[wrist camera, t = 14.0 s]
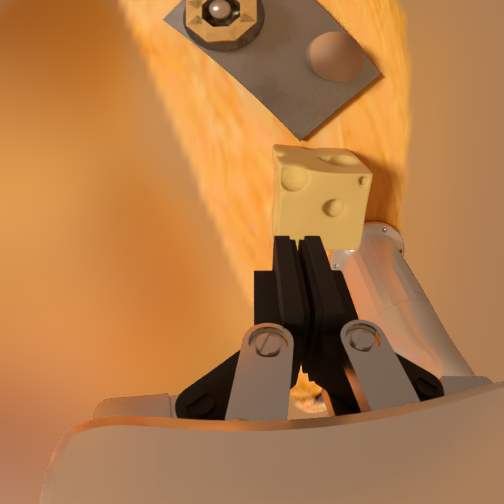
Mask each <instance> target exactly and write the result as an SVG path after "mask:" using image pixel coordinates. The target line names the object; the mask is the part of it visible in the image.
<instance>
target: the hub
mask: <svg viewBox="0 0 504 504" xmlns="http://www.w3.org/2000/svg"><path fill="white" fill-rule="evenodd" d="M239 17H240V8H239V7H238V6H237V5H235V4H234V3H233V2H232V1H225V0H215V1H214V2H212V3H211V4H210V6H209V9H208V10H207V23H208V24H210V25H211V26H212V27H223V26H230V25H231V24H232V23H233V22H234V21H235V20H237V19H238V18H239ZM264 20H265V10H264V6H263V4H262V1H261V0H257V23H256V27H255V28H254V29H252V30H251V31H250V32H249V33H248V34H247V35H246V36H244V37H243V38H242V39H241V40H240V41H239V42H238V43H222V44H210V43H208V42H206V41H205V40H204V39H203V38H201V37H200V36H199V35H198V34H196V33H195V32H194V31H192V30H191V29H190V28H189V27H187V26H186V7H185V9H184V13H183V24H184V28H185V30H186V32H187V34H188V36H189V37H190V38H191V39H192V40H193V41H194V42H195V43H196V44H198V45H199V46H201V47H203V48H206V49H208V50H212V51H217V52H229V51H234V50H238V49H240V48H243V47H245V46H246V45H248V44H250V43H251V42H252V41H253V40H254V39H255V38H256V37H257V36H258V35H259V33H260V31H261V29H262V27H263V24H264Z"/></svg>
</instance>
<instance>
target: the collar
mask: <svg viewBox="0 0 504 504" xmlns="http://www.w3.org/2000/svg"><path fill="white" fill-rule="evenodd" d="M214 1H215V0H187V1H186V26H187V27H189V28H190V29H191V30H192V31H194V32H195V33H196V34H198V35H199V36H200V37H201V38H203V39H204V40H205V41H206V42H208V43H210V44H222V43H238V42H239V41H240V40H241V39H242V38H243V37H244V36H246V35H247V34H248V33H249V32H250V31H251V30H252V29H254V28H255V27H256V23H257V0H225V1H232V2H233V3H234V4H235V5H237V6H238V7H239V8H240V17H239V18H238V19H237V20H235V21H234V22H233V23H232V24H231V25H230V26H223V27H212V26H211V25H210V24H208V23H207V10H208V9H209V6H210V4H211V3H212V2H214Z"/></svg>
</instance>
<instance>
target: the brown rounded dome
mask: <svg viewBox="0 0 504 504" xmlns="http://www.w3.org/2000/svg"><path fill="white" fill-rule="evenodd" d="M306 57H307V62H308V64H309V66H310V68H311V69H312V71H313V72H314V73H315V74H317V75H318V76H320V77H322V78H324V79H327V80H332V81H340V82H341V81H347V80H350V79H352V78H354V77H355V76H357V75H358V73H359V72H360V71H361V69H362V67H363V63H364V56H363V51H362V49H361V47H360V45H359V44H358V42H357V41H356V40H355V39H354V38H352V37H351V36H349V35H347V34H345V33H342V32H328V33H325V34H322V35H320V36H318V37H316V38H315V39H313V40H312V41H311V43H310V44H309V46H308V48H307V53H306Z"/></svg>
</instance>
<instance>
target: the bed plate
mask: <svg viewBox="0 0 504 504" xmlns="http://www.w3.org/2000/svg"><path fill="white" fill-rule="evenodd" d="M186 1H187V0H182V1H181V2H180V3H179V4H178V5H177V6H176V7H175V8H174V9H173V10H172V11H171V12H170V13H169V14H168V15H167V16H166V17H165V18H164V19H163V20H164V21H165V22H167V23H168V24H169V25H171V26H172V27H173V28H175V29H176V30H177V31H179V32H180V33H181V34H182V35H184V36H185V37H186V38H188V39H189V40H190V41H191V42H193V43H194V44H195V45H196V46H198V47H199V48H200V49H201V50H203V51H204V52H205V53H206V54H207V55H209V56H210V57H211V58H212V59H213V60H215V61H216V62H217V63H218V64H219V65H220V66H222V67H223V68H224V69H225V70H226V71H227V72H229V73H230V74H231V75H232V76H233V77H234V78H235V79H236V80H238V81H239V82H240V83H241V84H242V85H243V86H244V87H245V88H246V89H247V90H249V91H250V92H251V93H252V94H253V95H254V96H255V97H256V98H257V99H258V100H259V101H260V102H261V103H262V104H263V105H264V106H265V107H266V108H268V109H269V110H270V111H271V112H272V113H273V114H274V115H275V116H276V117H277V118H278V119H279V120H280V121H281V122H282V123H283V124H284V125H285V126H286V127H287V128H288V129H289V130H290V131H291V132H292V133H293V135H294V136H295V137H296V138H297V139H298V140H299V141H301V140H302V139H303V138H304V137H306V136H307V135H308V134H309V133H310V132H311V131H313V130H314V129H315V128H316V127H317V126H318V125H320V124H321V123H322V122H323V121H324V120H325V119H327V118H328V117H329V116H330V115H331V114H333V113H334V112H335V111H336V110H337V109H339V108H340V107H341V106H342V105H343V104H345V103H346V102H347V101H348V100H350V99H351V98H352V97H353V96H354V95H356V94H357V93H358V92H359V91H361V90H362V89H363V88H364V87H366V86H367V85H368V84H369V83H371V82H372V81H373V80H374V79H376V78H377V77H378V76H379V75H381V73H380V72H379V70H378V69H377V68H376V67H375V65H374V64H373V63H372V62H371V60H370V59H369V58H368V57H367V55H366V54H365V53H364V52H363V56H364V63H363V67H362V69H361V71H360V72H359V73H358V75H357V76H355V77H354V78H352V79H350V80H347V81H341V82H340V81H332V80H327V79H324V78H322V77H320V76H318V75H317V74H315V73H314V72H313V71H312V69H311V68H310V66H309V64H308V62H307V57H306V53H307V48H308V46H309V44H310V43H311V41H312V40H313V39H315V38H316V37H318V36H320V35H322V34H325V33H328V32H342V33H345V34H347V32H346V31H345V30H344V29H343V28H342V27H341V26H340V25H339V24H338V23H337V22H336V21H335V20H334V19H333V18H332V17H331V16H330V15H329V14H328V13H327V12H326V11H325V10H324V9H323V8H322V7H321V6H320V5H319V4H318V3H317V2H316V1H315V0H261V1H262V4H263V6H264V10H265V20H264V24H263V27H262V29H261V31H260V33H259V35H258V36H257V37H256V38H255V39H254V40H253V41H252V42H251V43H250V44H248V45H246V46H245V47H243V48H240V49H238V50H234V51H229V52H217V51H212V50H208V49H206V48H203V47H201V46H199V45H198V44H196V43H195V42H194V41H193V40H192V39H191V38H190V37H189V36H188V34H187V32H186V30H185V28H184V24H183V13H184V9H185V7H186ZM347 35H348V34H347Z"/></svg>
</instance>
